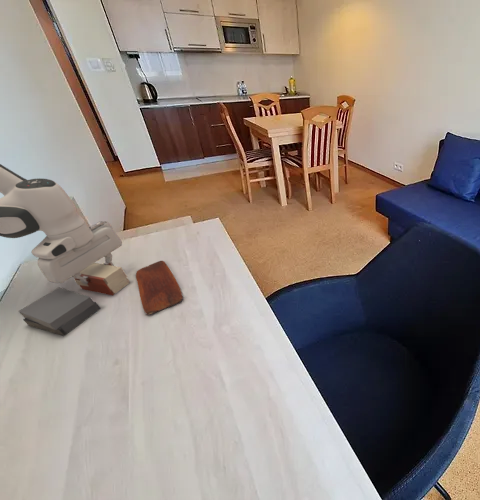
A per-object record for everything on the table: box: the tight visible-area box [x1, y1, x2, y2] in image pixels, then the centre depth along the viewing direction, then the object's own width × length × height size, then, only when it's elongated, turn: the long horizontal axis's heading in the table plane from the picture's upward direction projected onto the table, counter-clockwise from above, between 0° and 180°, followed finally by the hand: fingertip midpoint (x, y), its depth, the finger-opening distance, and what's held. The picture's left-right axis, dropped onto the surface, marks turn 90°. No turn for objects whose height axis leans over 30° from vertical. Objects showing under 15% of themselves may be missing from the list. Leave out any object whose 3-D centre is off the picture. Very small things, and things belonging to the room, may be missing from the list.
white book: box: [74, 262, 125, 285], centre depth 91 cm, size 13×6×2 cm, turn 73°
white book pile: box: [74, 271, 131, 297], centre depth 93 cm, size 13×7×4 cm, turn 73°
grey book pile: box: [17, 286, 101, 337], centre depth 82 cm, size 15×11×5 cm
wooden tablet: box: [135, 260, 184, 316], centre depth 92 cm, size 27×10×2 cm, turn 37°
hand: (99, 274), depth 92 cm, fingers closed on white book, 6 cm apart
